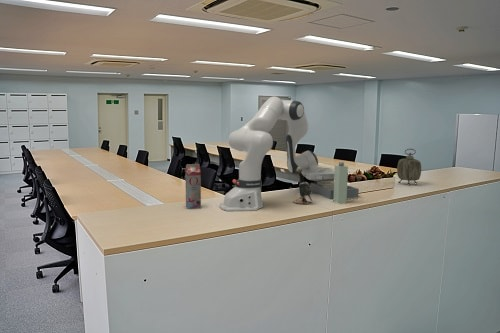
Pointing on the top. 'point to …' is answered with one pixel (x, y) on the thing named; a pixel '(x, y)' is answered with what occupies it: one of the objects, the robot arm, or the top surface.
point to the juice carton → (193, 186)
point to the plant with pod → (303, 190)
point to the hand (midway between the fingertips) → (329, 177)
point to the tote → (329, 194)
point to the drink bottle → (340, 183)
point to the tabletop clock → (409, 168)
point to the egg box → (326, 184)
